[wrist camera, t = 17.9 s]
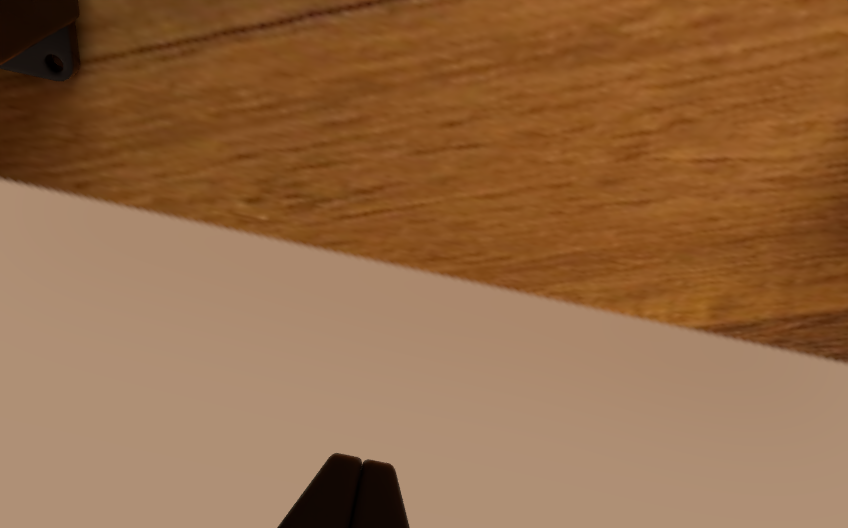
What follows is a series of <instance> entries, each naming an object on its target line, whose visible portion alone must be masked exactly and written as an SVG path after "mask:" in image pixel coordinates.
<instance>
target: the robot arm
mask: <svg viewBox="0 0 848 528" xmlns="http://www.w3.org/2000/svg"><path fill="white" fill-rule="evenodd" d="M78 17H79V6H78V0H0V69H4V70H9V71H13V72H18V73H22V74H27V75H32V76H36V77H41V78H45V79H50V80H54V81H65V80H67V79H69V78H70V77H72V76H73V75H74V74H76V73H77V71H78V70H79V65H80V60H79V51H78V43H77V34H76V26H75V20H76V19H77V18H78ZM52 54H53V55H55V56H58V57H59V59H60V60H61V61H62V63H63V67H61V66H59V65H57V64H56V63H55V62H54V60H53V57H52ZM361 467H362V468H361ZM278 528H409V524H408V520H407V516H406V512H405V508H404V504H403V499H402V495H401V491H400V487H399V483H398V479H397V475H396V472H395V469H394V467H393V466H392V465H391V464H389V463H384V462H379V461H374V460H365V461H364V462H363V464H362V461H361V459H360V458H358V457H354V456H349V455H344V454H339V453H335V454H333V455H332V456H330V457H329V459H328V460H327V461H326V463H325V464H324V465H323V467H322V468H321V469H320V471H319V472H318V473H317V475H316V476H315V477H314V479H313V480H312V481H311V483H310V484H309V486H308V487H307V488H306V490H305V491H304V492H303V494H302V495H301V496H300V498H299V499H298V500H297V502H296V503H295V504H294V506H293V507H292V509H291V510H290V511H289V513H288V514H287V515H286V517H285V518H284V519H283V521H282V522H281V524H280V525H279V526H278Z"/></svg>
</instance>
